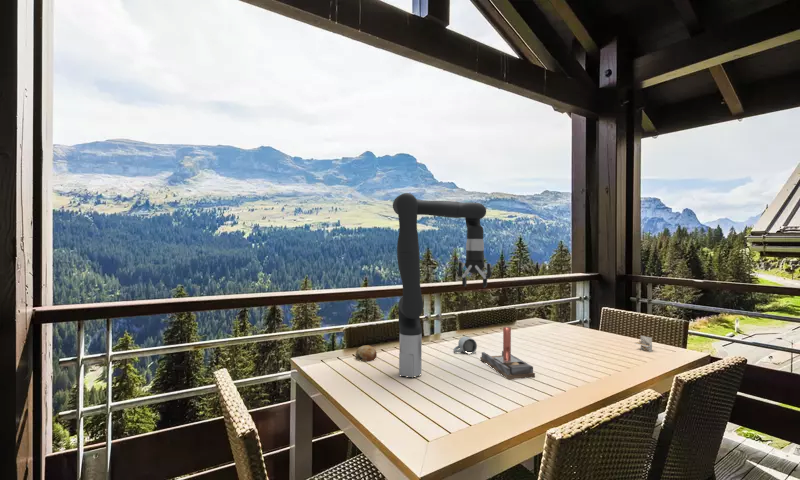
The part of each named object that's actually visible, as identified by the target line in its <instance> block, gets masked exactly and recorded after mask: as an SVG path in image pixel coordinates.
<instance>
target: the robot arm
mask: <svg viewBox="0 0 800 480" xmlns="http://www.w3.org/2000/svg"><path fill="white" fill-rule="evenodd" d="M392 209H393V212H395V214H396V215H398V224H399V226H398V227H399V229H398V230H399V232H398V235H397V236H398V237H397V244H396V257H397V258H396V259H397V267H398V271H399V275H400V279H401V284H402V296H401V297H400V299H399V300H398V306H397V311H398V312H397V313H398V328H399V354H398V356H399V359H398V362H399V363H398V376H399V375H401V376H408V377H414V376H418V375H420V374H421V375H422V370H423V369H422V362H423V360H422V357H423V356H422V354H423V353H422V350H423V349H422V347H423V346H422V343H423V342H422V338H423V337H422V335H423V334H422V330H423V329H422V325H421V324H422V323H421V319H420V318H421V317H420V316H421V315H422V313H423V311H424V302H423V297H422V296H423V295H422V289H421V264H420V263H421V261H420V260H421V259H420V248H419V247H420V246H419V233H418V215H420V216H434V217H443V218H452V219H462V218H464V220H465V226H466V244H465V262H463V261H462V262H459V263H458V267H457V268H458V271H457V276H458V277H460V278H461V279H462V281H461V282H462V283H461V284H462V286H463V287H467V285H468V284H467V283H468V281H467V280H468V279H467V276H468V275H469V274H470V273H471V274H473V273H475V274H479V275H481V277H482V288H483V289H485V288H486V287H487V286H488V279H489V278H491V277H492V274H493V273H492V264H491V263H485V260H484V259H485V258H484V256H485V249H484V248H485V243H484V228H483V226H482V225H481V220H482V219H483V218H485V216H486V214H487V208H486V207H485V205H484V204H482V203H480V202H460V201H454V200H453V201H452V200H427V199H426V200H423V199H418V198H416V196H415V195H414V194H412V193H410V192H404V193H401V194H399V195H398V196H396V197H395V198H394V200H393V202H392ZM464 267H465V268H466V269H465V271H463V268H464ZM484 268H485V269H486V270H487V273H486V272H485V270H484ZM463 272H464V273H463ZM401 376H400V377H401Z"/></svg>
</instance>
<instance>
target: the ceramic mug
mask: <svg viewBox="0 0 800 480" xmlns="http://www.w3.org/2000/svg"><path fill="white" fill-rule="evenodd" d="M477 348H478V345H477V342H476V340H475V339H474V338H472V337H469V336H462V337H460V338H459V340H458V345H457V346H455V347H454V348H453V352H454V351H455V352H460V353H461V352H463V353H465V354H466V352H465V351H467V352H472V353H473V354H474V353H476V350H477ZM455 352H454V353H455Z"/></svg>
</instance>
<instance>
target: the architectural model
mask: <svg viewBox="0 0 800 480" xmlns="http://www.w3.org/2000/svg"><path fill="white" fill-rule="evenodd" d="M652 339H653V338H652V337H649V336H645V335H640V339H639V341H638V342H634V344H635V345H638V346H640V350H643V351H645V352H649V353H652V352H653V342H652V341H653V340H652Z"/></svg>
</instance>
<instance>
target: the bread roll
mask: <svg viewBox="0 0 800 480" xmlns="http://www.w3.org/2000/svg"><path fill="white" fill-rule="evenodd" d="M377 354H378V353H377V350H376V348H375V347H373V346H371V345H369V344H367V345H362V346H360V347H358V348H357V349H356V351H355V359H356V360H357V361H358V360H361V361H360V362H372V361H371V360H373V361H375V360H376V359H377ZM375 358H376V359H375ZM374 359H375V360H374Z"/></svg>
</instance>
